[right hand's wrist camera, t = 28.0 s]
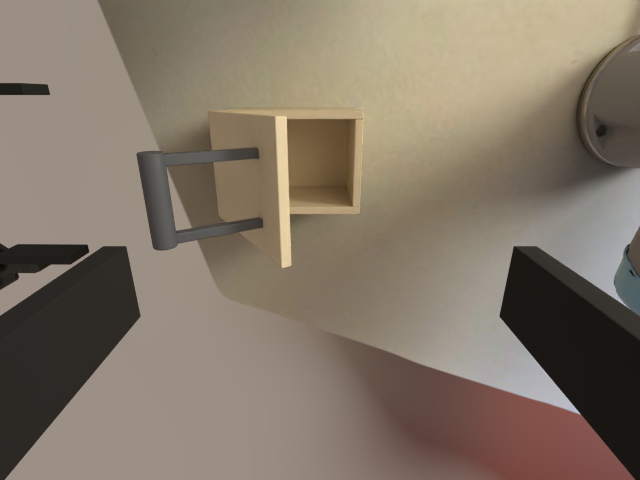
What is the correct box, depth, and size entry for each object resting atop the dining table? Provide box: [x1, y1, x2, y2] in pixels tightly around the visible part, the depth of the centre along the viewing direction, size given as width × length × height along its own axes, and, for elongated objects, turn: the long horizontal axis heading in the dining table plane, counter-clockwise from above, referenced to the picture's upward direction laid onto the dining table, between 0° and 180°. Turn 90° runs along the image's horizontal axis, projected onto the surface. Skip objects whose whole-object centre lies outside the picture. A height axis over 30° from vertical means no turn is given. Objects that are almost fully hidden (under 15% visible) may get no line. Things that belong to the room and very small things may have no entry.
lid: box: [137, 111, 291, 268], centre depth 28 cm, size 15×10×8 cm
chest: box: [216, 108, 364, 214], centre depth 41 cm, size 14×10×11 cm
